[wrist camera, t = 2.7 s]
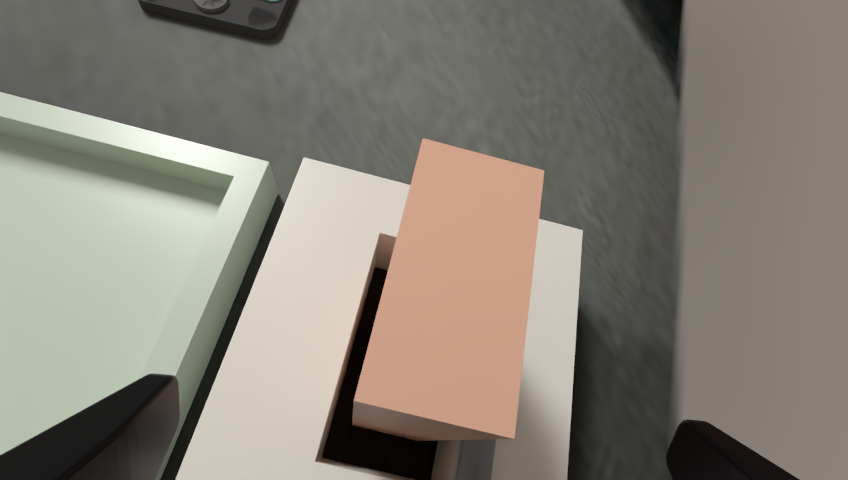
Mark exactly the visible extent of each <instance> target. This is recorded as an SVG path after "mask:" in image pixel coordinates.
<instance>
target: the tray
mask: <svg viewBox="0 0 848 480" xmlns="http://www.w3.org/2000/svg"><path fill="white" fill-rule="evenodd" d="M277 196H278V191H277V188H276V184H275V181H274V177H273V174H272V171H271V167H270V164H269V162H267V161H263V160H259V159H255V158H252V157H248V156H244V155H240V154H236V153H232V152H229V151H225V150H221V149H217V148H213V147H209V146H205V145H202V144H198V143H194V142H190V141H186V140H182V139H179V138H175V137H171V136H167V135H163V134H159V133H156V132H152V131H148V130H144V129H140V128H136V127H133V126H129V125H125V124H121V123H117V122H113V121H109V120H106V119H102V118H98V117H94V116H90V115H86V114H83V113H79V112H75V111H71V110H67V109H63V108H60V107H56V106H52V105H48V104H44V103H40V102H36V101H33V100H29V99H25V98H21V97H17V96H13V95H10V94H6V93H2V92H0V455H1V454H3V453H5V452H7V451H8V450H10V449H12V448H14V447H16V446H18V445H19V444H21V443H23V442H25V441H27V440H29V439H30V438H32V437H34V436H36V435H38V434H39V433H41V432H43V431H45V430H47V429H49V428H50V427H52V426H54V425H56V424H58V423H60V422H61V421H63V420H65V419H67V418H69V417H71V416H72V415H74V414H76V413H78V412H80V411H81V410H83V409H85V408H87V407H89V406H91V405H92V404H94V403H96V402H98V401H100V400H102V399H103V398H105V397H107V396H109V395H111V394H113V393H114V392H116V391H118V390H120V389H122V388H123V387H125V386H127V385H129V384H131V383H133V382H134V381H136V380H138V379H140V378H142V377H144V376H146V375H148V374H152V373H156V374H168V375H174V376H175V377H177V379H178V383H179V401H180V420H179V424H178V428H177V430H176V433H175V435H174V437H173V440H172V442H171V444H170V447H169V449H168V451H167V454H166V456H165V458H164V461H163V463H162V465H161V468H160V470H159V472H158V475H157V477H156V479H155V480H161V477H162V475H163V472H164V470H165V468H166V465H167V463H168V460H169V458H170V455H171V453H172V451H173V448H174V446H175V443H176V441H177V438H178V436H179V434H180V431H181V429H182V426H183V424H184V421H185V419H186V417H187V414H188V412H189V409H190V407H191V404H192V402H193V400H194V397H195V395H196V392H197V390H198V387H199V385H200V383H201V380H202V378H203V375H204V373H205V370H206V368H207V366H208V363H209V361H210V358H211V356H212V353H213V351H214V349H215V346H216V344H217V341H218V339H219V336H220V334H221V332H222V329H223V327H224V324H225V322H226V319H227V317H228V315H229V312H230V310H231V307H232V305H233V302H234V300H235V298H236V295H237V293H238V290H239V288H240V285H241V283H242V281H243V278H244V276H245V273H246V271H247V268H248V266H249V264H250V261H251V259H252V256H253V254H254V251H255V249H256V247H257V244H258V242H259V239H260V237H261V234H262V232H263V230H264V227H265V225H266V222H267V220H268V217H269V215H270V213H271V210H272V208H273V205H274V203H275V200H276V198H277Z"/></svg>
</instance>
